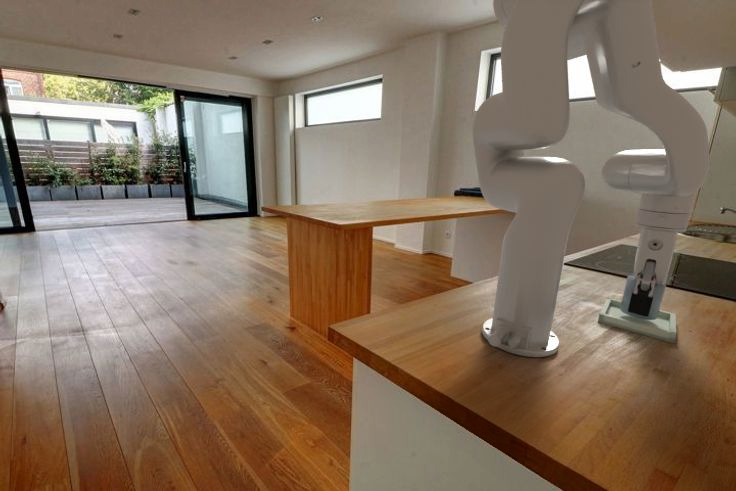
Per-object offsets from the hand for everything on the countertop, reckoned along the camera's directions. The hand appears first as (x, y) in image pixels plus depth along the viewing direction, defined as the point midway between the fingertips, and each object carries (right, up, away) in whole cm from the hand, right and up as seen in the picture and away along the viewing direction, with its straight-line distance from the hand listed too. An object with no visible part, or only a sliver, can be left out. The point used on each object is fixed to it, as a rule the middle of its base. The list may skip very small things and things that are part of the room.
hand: (639, 307), depth 68 cm
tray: (0, -3, +1) cm, 3 cm away
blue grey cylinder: (0, -1, 0) cm, 1 cm away
